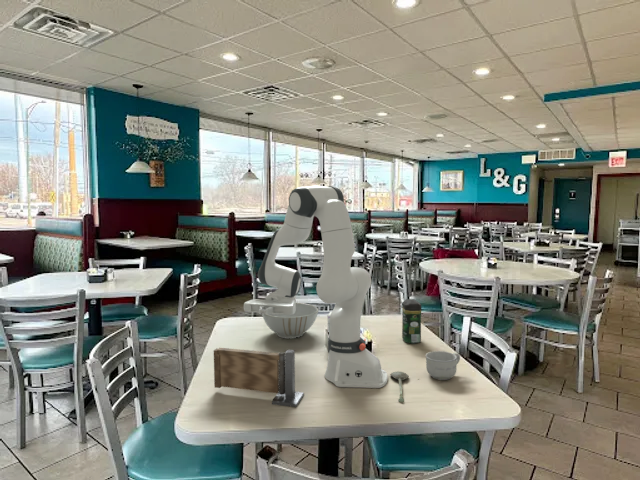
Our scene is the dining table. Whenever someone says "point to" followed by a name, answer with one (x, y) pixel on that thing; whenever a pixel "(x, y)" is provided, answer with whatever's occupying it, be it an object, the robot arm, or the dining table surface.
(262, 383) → the gate
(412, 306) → the coffee jar
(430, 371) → the teacup
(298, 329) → the decorative bowl
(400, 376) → the soupspoon
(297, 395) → the gate post
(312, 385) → the dining table surface
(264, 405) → the dining table surface
